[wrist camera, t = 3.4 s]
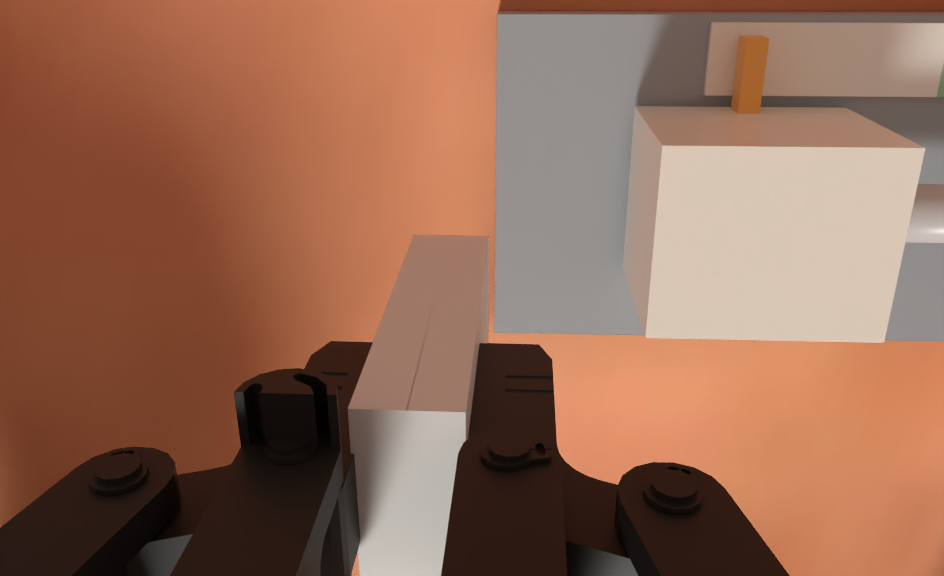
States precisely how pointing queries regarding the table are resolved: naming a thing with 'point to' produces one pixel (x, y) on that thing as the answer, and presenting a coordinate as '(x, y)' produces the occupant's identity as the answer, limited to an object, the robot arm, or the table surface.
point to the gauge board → (690, 85)
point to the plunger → (770, 217)
